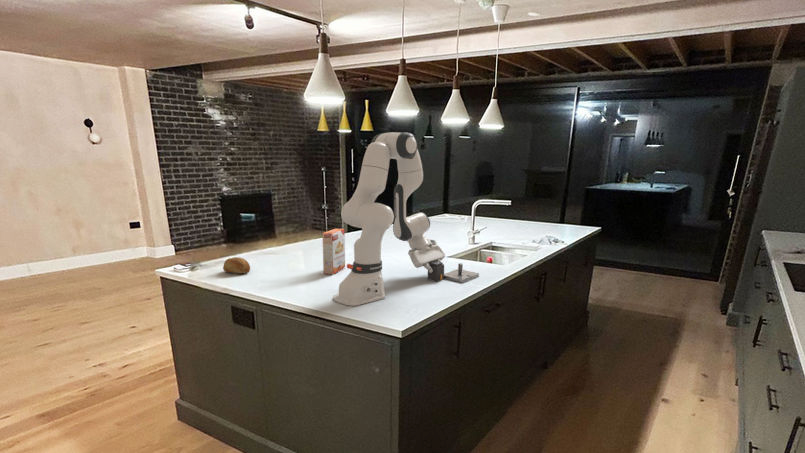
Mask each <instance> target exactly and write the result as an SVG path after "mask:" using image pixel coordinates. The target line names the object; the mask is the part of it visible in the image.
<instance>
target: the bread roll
mask: <svg viewBox="0 0 805 453" xmlns="http://www.w3.org/2000/svg"><path fill="white" fill-rule="evenodd" d="M222 267H223V268H222V269H223V271H224V272H225V271H226V272H225V273H229V272H232V273H231V274H238V273H245V274H247V273H246V272H248V273H249V272H250V271H251V265H250V263H249V261H247V259H245V258H242V257H236V256H235V257H231V258H227V259H226V260H225V261H224V263H223V266H222Z"/></svg>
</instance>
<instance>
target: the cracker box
mask: <svg viewBox="0 0 805 453" xmlns="http://www.w3.org/2000/svg"><path fill="white" fill-rule="evenodd" d="M345 232H346V231H345V228H333V229H331V230H328V231H325V232H323V233H322V261H323V262H322V265H323V267H322V268H323V269H322V270H323V274H324V273H325V274H324V275H330V274H334V275H335V274H337V273H339V272H341V271H342V270H344V269H345V268H346V240H345V239H346V237H345V235H346V234H345ZM344 267H345V268H344ZM343 268H344V269H343ZM341 269H342V270H341ZM338 271H339V272H338ZM336 272H337V273H336Z"/></svg>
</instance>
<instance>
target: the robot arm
mask: <svg viewBox="0 0 805 453" xmlns="http://www.w3.org/2000/svg"><path fill="white" fill-rule="evenodd" d="M371 139H372V140H371V143H370V144H368V145H367V147H366V150H365V153H364V156H363V159H362V162H361V163H362V164H361V169H360V174H359V179H358V183H357V186H356V189H355V191H354V193H353V194H352V197H351V198H350V199H349V200H348V201H347V202H345V204H344V205H343V206H342V208H341V212H340V215H341V220H342V221H343V222H344V223H345V224H347V225H349V226H351V227H354V228H359V229H361V234H360V237H359V238H358V239H356V240H355V242H354V243H353V253H354V256H353V257H354V261H353V262H352V264H350V263H347V264H346V265H345V268H347V269H348V270H351V271H350V272H349V273H348V275H347V276H345V278H344V279H343V280H342V281H341V282H340V284H339V286H338V292H337V294H334V295H333V296H332V300H333V301H335V303H338V304H341V305H346V306H352V307H357V306H361V305H363V304H369V303H371V302H375V301H380V300H383V299H386V290H385V286H384V281H383V276H382V275H383V274H382V270H383V261H382V256H381V255H382V242H383V237H384V235H385V234H386V232H387V230H388V229H390V227H391V226H392V224H393V226H392V232H393V233H392V234H393V235H394V237H395V238H396V239H398V240H399V241H402V242H407V243H408V245H409V246H408V247H409V248H410V249H409V250H408V253H407V254H408V255H409V258H410V261H411V263H412V264H413V267H415V268H417V269H419V268H422V267H423V268H424V269H426V270H427V271H428V270H429V272H430V273H432V272H433V271H434V269H433V268H431V267H430V266H429V263H430V262H433V261H438V262H442V260H444V259H445V258H446V254H445V252H444V251H443V250H442V248H441V246H439V245H438V244H437V243H438V242H437V241H436V240H435V239H430V238H427V237H426V236H425V235H424V234H425V233H426V232H428V230H429V229H430V227H431V220H430V219H429V216H428V215H427V214H426V213H424V212H417V213H414V214H411V215H410V216H407V200H408V198H409V197H410V196H411V194H413V193H414V191H416V190H418V188H419V187H420V186H421V185H422V183H423V181H424V170H423V163H422V160H421V156H420V152H419V150H418V141H417V139H416V137H415V135H414V134H413V133H410V132H405V131H404V132H394V131H392V132H385V133H384V132H383V133H381V132H380V133H379V134H377V135H375V136H374V137H373V138H371ZM391 159H393V160H396V164H397V172H398V179H397V184H395V187H394V189H393V209H392V208H391V207H390V206H389V205H386V204H384V203H380V202H375V201H376V200H377V198H378V196H379V195H381V194H382V193H383V192H384V191H385V190H386V185H387V180H388V174H389V168H390V160H391Z"/></svg>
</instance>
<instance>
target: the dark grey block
mask: <svg viewBox="0 0 805 453" xmlns="http://www.w3.org/2000/svg"><path fill="white" fill-rule="evenodd" d="M429 266H430V267H431V268H433V269H434V271H433V272H432V273H430V272H429V270H427V280H429V281H433V282H440V281H442V280H445V279H444V274H445V264H444V263H443V262H442V261H441V262H438V261H433V262H430V263H429Z"/></svg>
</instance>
